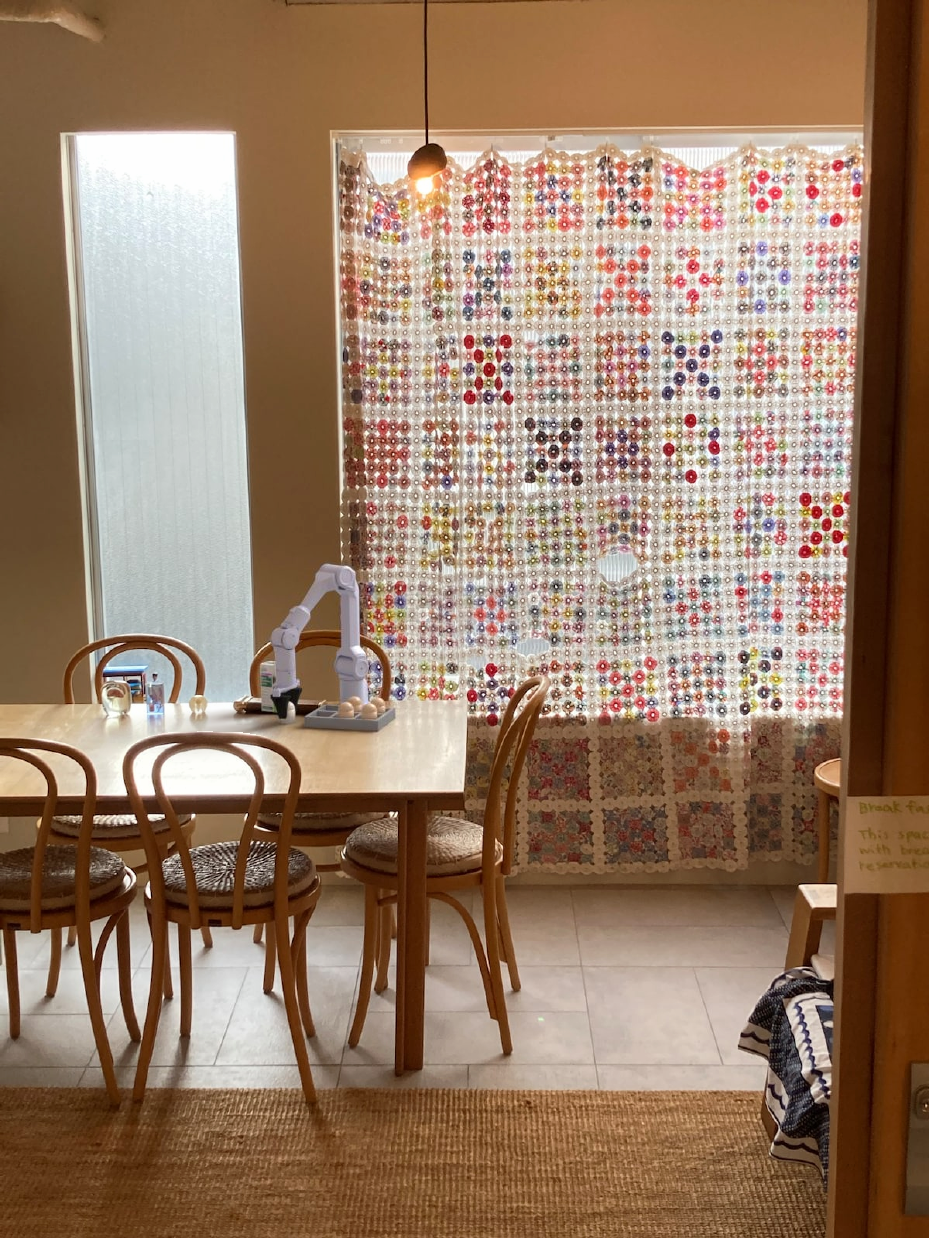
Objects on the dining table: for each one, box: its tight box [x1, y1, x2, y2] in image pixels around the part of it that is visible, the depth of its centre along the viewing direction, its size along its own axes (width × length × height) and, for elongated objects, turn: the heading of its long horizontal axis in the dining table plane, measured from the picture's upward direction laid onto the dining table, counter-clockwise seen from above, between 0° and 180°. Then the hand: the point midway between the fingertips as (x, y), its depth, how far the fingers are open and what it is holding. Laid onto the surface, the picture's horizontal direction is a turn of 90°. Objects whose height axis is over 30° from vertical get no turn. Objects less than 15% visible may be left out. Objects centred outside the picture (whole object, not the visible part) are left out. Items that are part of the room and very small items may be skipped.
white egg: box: [279, 701, 296, 725], centre depth 332 cm, size 4×4×6 cm
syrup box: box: [259, 660, 277, 713], centre depth 347 cm, size 6×6×14 cm
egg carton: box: [304, 696, 396, 732], centre depth 331 cm, size 15×22×7 cm
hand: (287, 715), depth 332 cm, fingers open, 6 cm apart
